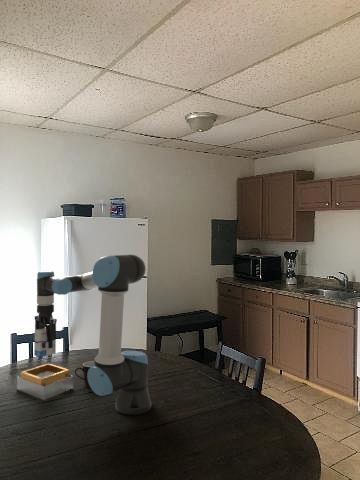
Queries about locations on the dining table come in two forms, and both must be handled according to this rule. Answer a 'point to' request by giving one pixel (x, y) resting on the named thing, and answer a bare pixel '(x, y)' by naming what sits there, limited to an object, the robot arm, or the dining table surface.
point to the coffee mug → (86, 371)
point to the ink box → (42, 343)
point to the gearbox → (45, 381)
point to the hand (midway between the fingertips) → (45, 353)
